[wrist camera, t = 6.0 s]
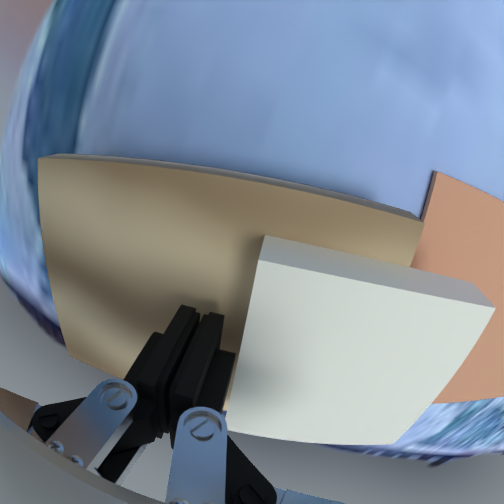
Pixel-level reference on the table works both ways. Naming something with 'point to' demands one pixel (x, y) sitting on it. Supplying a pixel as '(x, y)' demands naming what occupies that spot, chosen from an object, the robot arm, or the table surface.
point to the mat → (468, 274)
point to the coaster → (347, 345)
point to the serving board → (182, 245)
